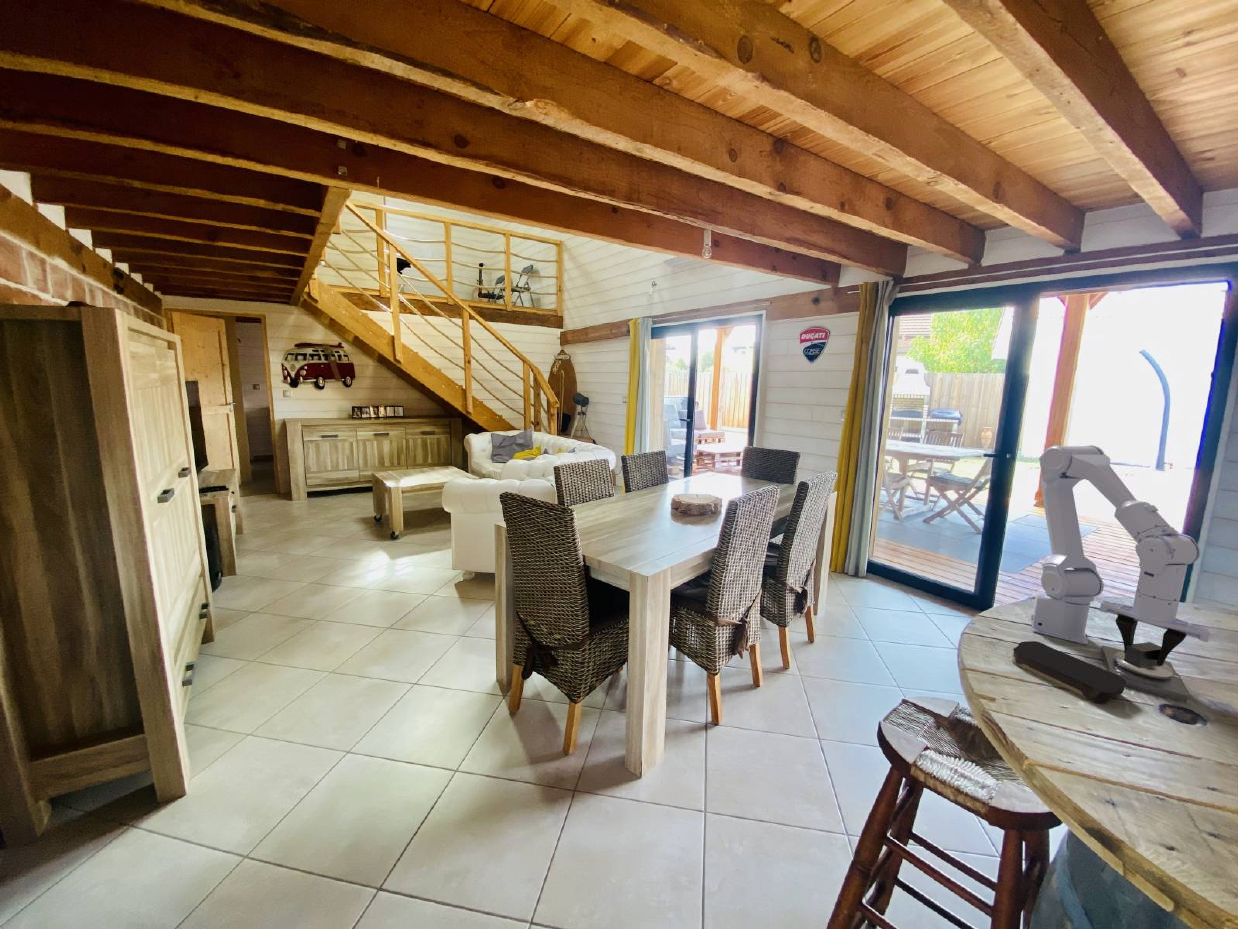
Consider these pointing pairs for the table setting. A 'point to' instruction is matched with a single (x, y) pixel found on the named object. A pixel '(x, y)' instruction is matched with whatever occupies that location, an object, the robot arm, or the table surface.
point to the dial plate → (1146, 678)
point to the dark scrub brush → (1068, 671)
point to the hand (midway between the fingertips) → (1144, 658)
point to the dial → (1143, 660)
